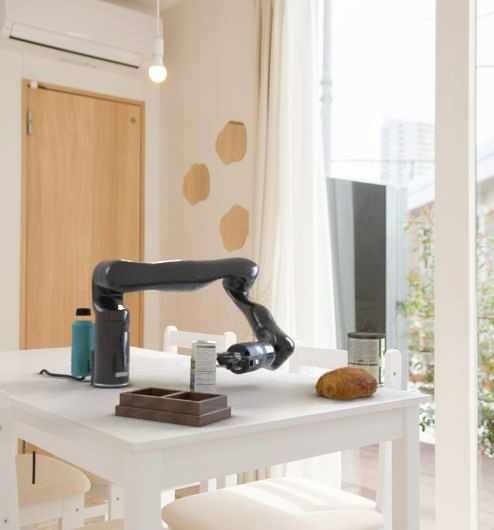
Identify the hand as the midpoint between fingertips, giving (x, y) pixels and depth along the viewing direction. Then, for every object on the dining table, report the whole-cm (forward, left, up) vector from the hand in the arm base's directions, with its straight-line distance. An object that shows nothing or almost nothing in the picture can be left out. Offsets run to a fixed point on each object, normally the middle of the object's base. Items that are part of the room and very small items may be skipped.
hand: (211, 363), depth 160 cm
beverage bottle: (-48, +10, -9) cm, 50 cm away
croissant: (+22, +28, -9) cm, 36 cm away
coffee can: (+20, +48, -9) cm, 52 cm away
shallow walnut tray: (+1, -16, -9) cm, 19 cm away
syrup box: (0, -4, -9) cm, 10 cm away
